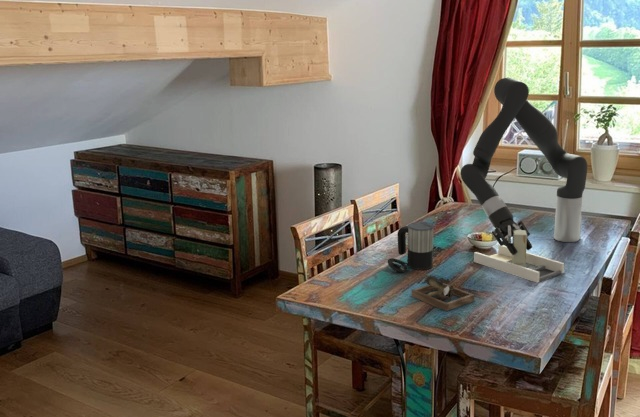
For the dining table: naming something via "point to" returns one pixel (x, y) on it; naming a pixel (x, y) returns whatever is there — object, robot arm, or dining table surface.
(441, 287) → the eagle figurine
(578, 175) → the robot arm
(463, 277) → the dining table surface
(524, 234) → the skincare box
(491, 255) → the pad
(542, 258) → the channel
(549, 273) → the tray
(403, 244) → the milk frother
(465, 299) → the display frame
